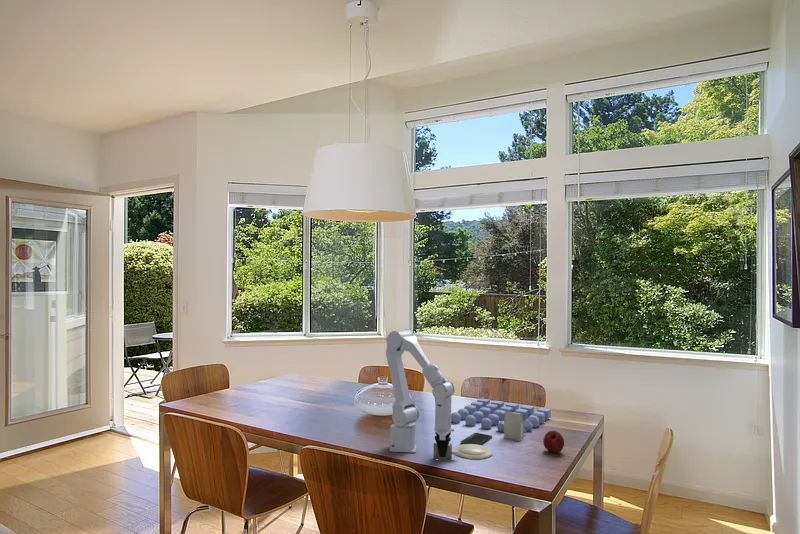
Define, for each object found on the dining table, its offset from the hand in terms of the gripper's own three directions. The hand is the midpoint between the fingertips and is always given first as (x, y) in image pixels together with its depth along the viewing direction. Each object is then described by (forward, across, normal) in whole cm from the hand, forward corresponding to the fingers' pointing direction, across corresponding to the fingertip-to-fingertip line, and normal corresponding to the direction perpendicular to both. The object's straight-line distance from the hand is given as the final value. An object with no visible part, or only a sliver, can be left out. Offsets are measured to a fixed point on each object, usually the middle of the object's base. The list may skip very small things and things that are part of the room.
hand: (442, 454), depth 182 cm
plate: (+1, +8, -11) cm, 14 cm away
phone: (+2, +22, -13) cm, 26 cm away
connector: (+1, 0, 0) cm, 1 cm away
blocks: (+2, +53, -25) cm, 59 cm away
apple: (+2, +13, -41) cm, 43 cm away
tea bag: (+2, +28, -28) cm, 40 cm away
